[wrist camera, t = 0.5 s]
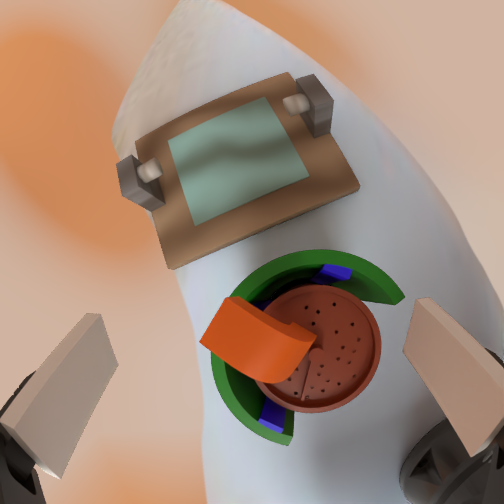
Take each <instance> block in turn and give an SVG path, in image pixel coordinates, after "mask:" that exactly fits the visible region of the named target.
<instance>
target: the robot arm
mask: <svg viewBox="0 0 504 504" xmlns="http://www.w3.org/2000/svg"><path fill="white" fill-rule="evenodd" d="M403 353H404V354H405V355H406V357H407V358H408V360H409V361H410V363H411V364H412V365H413V367H414V368H415V370H416V371H417V373H418V374H419V376H420V377H421V378H422V380H423V381H424V383H425V384H426V386H427V387H428V389H429V390H430V392H431V393H432V395H433V396H434V398H435V399H436V401H437V403H438V404H439V406H440V407H441V409H442V410H443V412H444V413H445V415H446V417H447V419H446V420H444V421H443V422H441V423H440V424H438V425H437V426H436V427H434V428H433V429H432V430H431V431H430V432H429V433H428V434H427V435H425V436H424V437H423V438H422V440H421V441H420V442H419V443H418V444H417V445H416V446H415V448H414V449H413V450H412V452H411V453H410V454H409V456H408V458H407V459H406V461H405V463H404V465H403V467H402V470H401V474H400V486H401V489H402V491H403V493H404V495H405V497H406V499H407V500H408V501H409V502H410V503H412V504H504V363H503V361H502V360H501V359H500V358H499V357H498V356H497V355H496V354H495V353H493V352H492V351H490V350H488V349H486V348H483V347H482V346H481V345H480V344H479V343H478V342H477V341H476V340H475V339H474V338H473V337H472V336H471V335H470V334H469V333H468V332H467V331H466V330H465V329H464V328H463V327H462V326H461V325H460V324H459V323H457V322H456V321H455V320H454V319H453V318H452V317H451V316H450V315H449V314H448V313H446V312H445V311H444V310H443V309H442V308H441V307H440V306H439V305H438V304H436V303H435V302H434V301H433V300H432V299H431V298H430V297H427V298H420V299H416V300H415V305H414V309H413V313H412V318H411V322H410V326H409V330H408V334H407V337H406V341H405V344H404V348H403ZM117 367H118V363H117V360H116V357H115V355H114V352H113V349H112V346H111V344H110V340H109V338H108V335H107V332H106V328H105V326H104V322H103V319H102V316H101V314H93V313H87V314H86V315H85V316H84V317H83V318H82V319H81V320H80V321H79V322H78V323H77V324H76V326H75V327H74V328H73V329H72V330H71V331H70V332H69V333H68V334H67V336H66V337H65V338H64V339H63V340H62V341H61V343H60V344H59V345H58V346H57V347H56V348H55V349H54V350H53V352H52V353H51V354H50V355H49V356H48V358H47V359H46V360H45V361H44V362H43V364H42V365H41V366H40V367H39V368H38V370H37V371H35V372H33V373H32V374H30V375H29V376H27V377H26V378H25V379H24V380H23V382H22V383H21V384H20V385H19V388H17V389H16V391H15V392H14V395H12V396H11V397H10V398H9V400H8V401H7V402H6V404H5V405H4V406H3V408H2V409H1V410H0V504H46V501H45V498H44V495H43V492H42V489H41V485H40V481H39V477H38V474H37V472H36V470H35V469H34V468H33V467H34V465H35V463H36V464H37V465H38V466H39V467H40V468H41V469H42V470H43V471H44V472H46V473H48V474H50V475H52V476H54V477H56V478H59V479H61V478H62V476H63V473H64V471H65V469H66V467H67V465H68V462H69V460H70V458H71V456H72V454H73V452H74V449H75V447H76V445H77V443H78V441H79V439H80V437H81V435H82V433H83V431H84V429H85V427H86V425H87V423H88V421H89V419H90V417H91V415H92V413H93V411H94V409H95V407H96V405H97V403H98V401H99V400H100V398H101V396H102V394H103V392H104V390H105V388H106V387H107V385H108V383H109V381H110V379H111V377H112V376H113V374H114V372H115V370H116V368H117Z"/></svg>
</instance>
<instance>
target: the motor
mask: <svg viewBox="0 0 504 504" xmlns="http://www.w3.org/2000/svg"><path fill="white" fill-rule="evenodd" d="M304 278H310V280H309V281H311V282H314V283H316V284H300V285H296V286H293V287H291V288H289V289H287V290H286V291H284V292H283V293H282V294H281V295H279V296H278V298H277V299H275V300H274V301H273V302H272V300H273V299H271V297H272V296H273V295H274V293H275V292H276V291H277V290H278V289H280V288H281V287H282V286H284V285H285V284H287V283H289V282H291V281H294V280H298V279H304ZM317 284H319V285H317ZM325 284H330V285H332V286H326V285H325ZM404 298H405V296H404V294H403V292H402V291H401V290H400V288H399V287H398V286H397V284H396V283H395V282H394V281H393V280H392V279H391V278H390V277H389V276H388V275H387V274H386V273H385V272H384V271H382V270H381V269H380V268H378V267H377V266H375V265H374V264H372V263H370V262H369V261H367V260H365V259H362V258H360V257H358V256H355V255H352V254H349V253H345V252H340V251H334V250H306V251H300V252H295V253H291V254H288V255H285V256H282V257H279V258H277V259H275V260H272V261H270V262H268V263H267V264H265V265H263V266H261V267H260V268H258V269H257V270H255V271H254V272H253V273H251V274H250V275H249V276H248V277H247V278H246V279H244V280H243V281H242V282H241V283H240V284H239V285H238V287H237V288H236V289H235V290H234V291H233V293H232V294H231V295H230V297H226V298H225V300H224V301H223V303H222V305H221V306H220V308H219V310H218V311H217V313H216V315H215V316H214V318H213V320H212V321H211V323H210V325H209V326H208V328H207V330H206V331H205V333H204V335H203V336H202V338H201V340H200V341H199V342H200V343H201V344H202V345H204V346H205V347H206V348H208V349H209V350H210V351H211V365H212V371H213V376H214V380H215V383H216V386H217V388H218V391H219V393H220V395H221V397H222V399H223V401H224V402H225V404H226V405H227V407H228V408H229V410H230V411H231V412H232V413H233V415H234V416H235V417H236V418H237V419H238V420H239V421H240V422H241V423H242V424H244V425H245V426H246V427H247V428H249V429H250V430H251V431H253V432H254V433H256V434H258V435H260V436H261V437H263V438H265V439H268V440H270V441H273V442H275V443H278V444H282V445H286V446H288V445H289V443H290V441H291V439H292V437H293V428H294V411H297V412H302V413H320V412H326V411H330V410H333V409H336V408H339V407H341V406H343V405H345V404H347V403H348V402H350V401H351V400H353V399H354V398H355V397H357V396H358V395H359V394H360V393H361V392H362V391H363V390H364V389H365V388H366V387H367V385H368V384H369V383H370V381H371V379H372V378H373V376H374V374H375V372H376V370H377V367H378V364H379V360H380V355H381V336H380V331H379V328H378V325H377V322H376V320H375V318H374V316H373V314H372V313H371V311H370V310H369V309H368V307H367V306H366V305H365V304H364V303H363V302H362V301H369V302H375V303H382V304H389V305H396V304H397V303H399V302H400V301H401V300H403V299H404ZM361 300H362V301H361Z"/></svg>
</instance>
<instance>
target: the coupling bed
mask: <svg viewBox="0 0 504 504" xmlns="http://www.w3.org/2000/svg"><path fill="white" fill-rule="evenodd" d="M333 103H334V100H333V99H332V97H331V96H330V94H329V93H328V92H327V90H326V89H325V88H324V87H323V85H322V84H321V83H320V81H319V80H318V79H317V78H316V76H315V75H314V74H311V75H308V76H305V77H301V78H298V79H296V82H295V81H294V79H293V78H292V77H291V75H290V74H289V73H288V72H286V73H283V74H280V75H277V76H274V77H271V78H268V79H265V80H262V81H260V82H257V83H254V84H252V85H249V86H247V87H244V88H241V89H239V90H236V91H234V92H232V93H229V94H227V95H225V96H222V97H220V98H218V99H215V100H213V101H211V102H209V103H207V104H204V105H202V106H200V107H198V108H196V109H194V110H192V111H190V112H188V113H186V114H184V115H182V116H180V117H178V118H176V119H174V120H172V121H170V122H168V123H167V124H165V125H163V126H161V127H159V128H157V129H156V130H154V131H152V132H150V133H149V134H147V135H145V136H143V137H142V138H140V139H138V140H137V141H135V145H136V150H137V155H138V159H139V160H138V159H136V158H135V157H134V156H133V155H130V156H128V157H127V158H125V159H123V160H122V161H120V162H119V163H117V164H116V166H117V172H118V178H119V183H120V188H121V193H122V196H123V197H125V198H127V199H129V200H131V201H132V202H134V203H136V204H138V205H140V206H142V207H143V208H145V209H147V210H149V211H151V212H152V216H153V220H154V223H155V227H156V231H157V234H158V237H159V241H160V244H161V248H162V251H163V254H164V257H165V261H166V264H167V267H168V269H173V270H175V269H177V268H179V267H181V266H184V265H186V264H188V263H190V262H193V261H195V260H197V259H199V258H202V257H204V256H206V255H209V254H211V253H213V252H215V251H218V250H220V249H222V248H225V247H227V246H229V245H231V244H234V243H236V242H238V241H241V240H243V239H245V238H248V237H250V236H252V235H255V234H257V233H259V232H262V231H264V230H266V229H269V228H271V227H273V226H276V225H278V224H280V223H283V222H285V221H287V220H290V219H292V218H294V217H297V216H299V215H301V214H304V213H306V212H309V211H311V210H313V209H316V208H318V207H321V206H323V205H325V204H328V203H330V202H333V201H335V200H337V199H340V198H342V197H345V196H347V195H349V194H352V193H354V192H357V191H358V190H359V188H360V184H359V182H358V180H357V178H356V176H355V175H354V173H353V171H352V169H351V167H350V166H349V164H348V162H347V160H346V159H345V157H344V155H343V154H342V152H341V150H340V148H339V147H338V145H337V143H336V142H335V140H334V139H333V137H332V135H331V134H330V128H331V120H332V112H333Z"/></svg>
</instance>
